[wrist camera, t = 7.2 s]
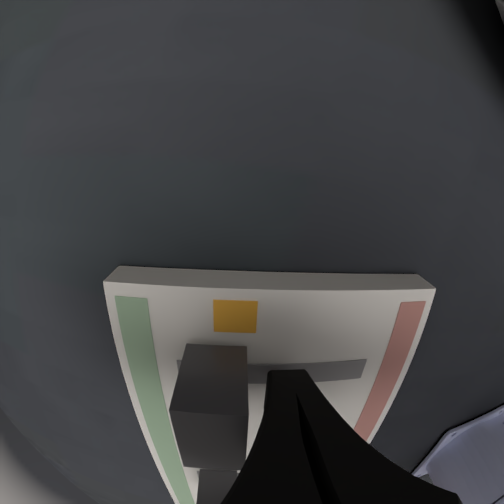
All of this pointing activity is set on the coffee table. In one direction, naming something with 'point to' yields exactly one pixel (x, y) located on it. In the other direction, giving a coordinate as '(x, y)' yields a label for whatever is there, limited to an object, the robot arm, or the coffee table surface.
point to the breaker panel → (264, 341)
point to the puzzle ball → (501, 8)
